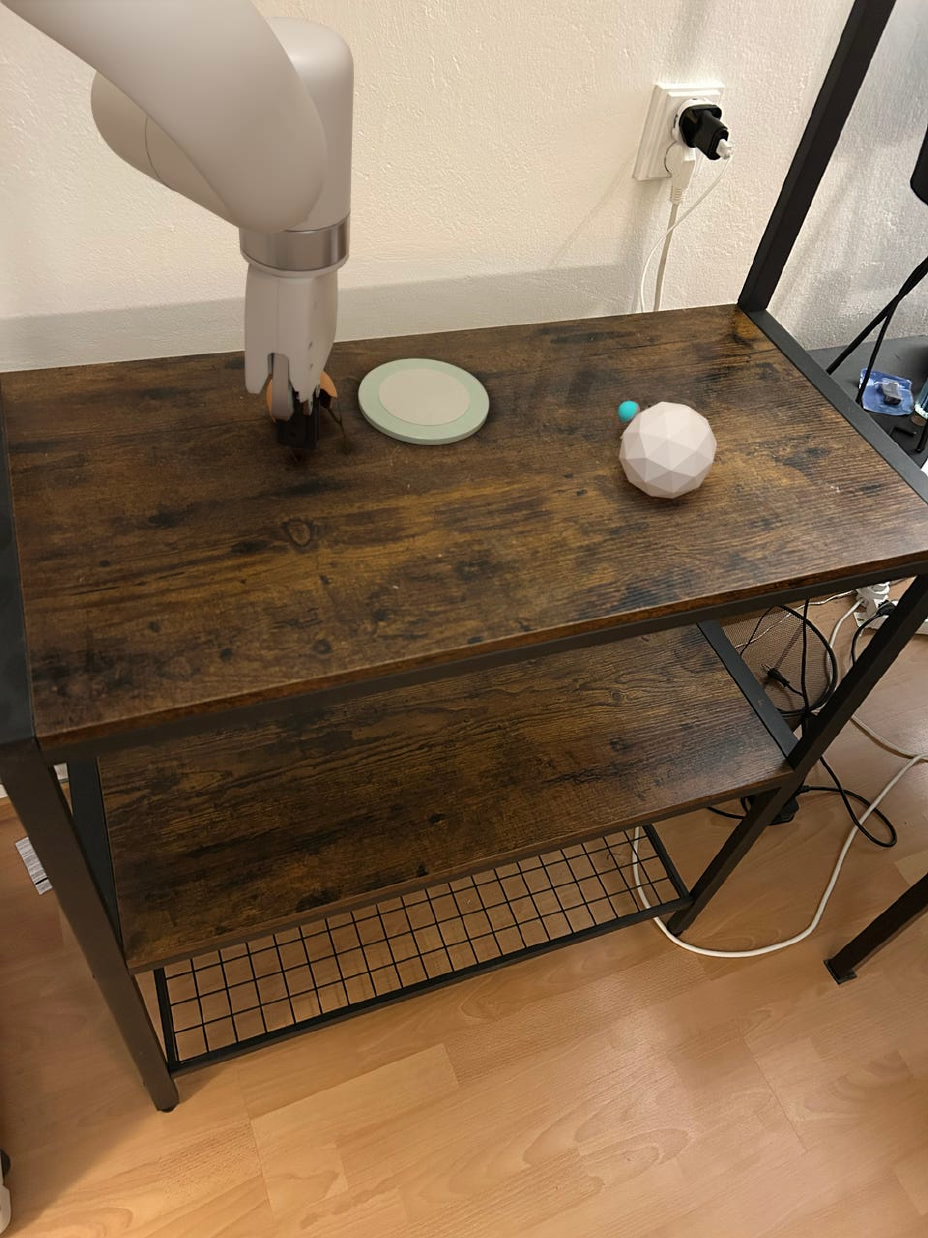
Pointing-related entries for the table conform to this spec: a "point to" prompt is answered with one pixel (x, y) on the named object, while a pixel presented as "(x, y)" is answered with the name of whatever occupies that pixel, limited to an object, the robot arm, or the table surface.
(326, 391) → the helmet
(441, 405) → the plate
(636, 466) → the perfume bottle
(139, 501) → the table surface
